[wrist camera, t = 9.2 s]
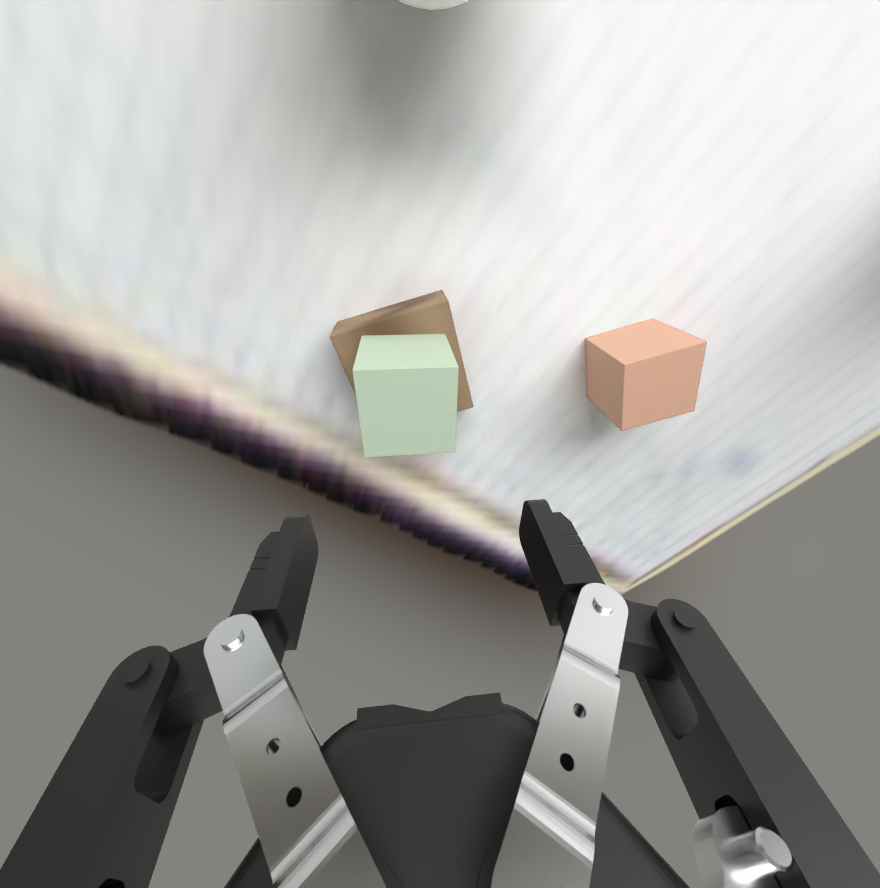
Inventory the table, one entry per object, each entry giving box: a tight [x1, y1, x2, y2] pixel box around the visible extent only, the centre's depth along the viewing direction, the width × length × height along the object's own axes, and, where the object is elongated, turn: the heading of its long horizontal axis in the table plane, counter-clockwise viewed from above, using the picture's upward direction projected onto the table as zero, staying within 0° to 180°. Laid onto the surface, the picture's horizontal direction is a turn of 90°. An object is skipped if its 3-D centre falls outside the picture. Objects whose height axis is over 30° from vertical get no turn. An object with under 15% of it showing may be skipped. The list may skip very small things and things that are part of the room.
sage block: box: [353, 334, 459, 457], centre depth 22 cm, size 6×6×6 cm
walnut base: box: [330, 290, 473, 412], centre depth 26 cm, size 8×8×4 cm
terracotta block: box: [585, 318, 707, 431], centre depth 27 cm, size 6×6×6 cm
